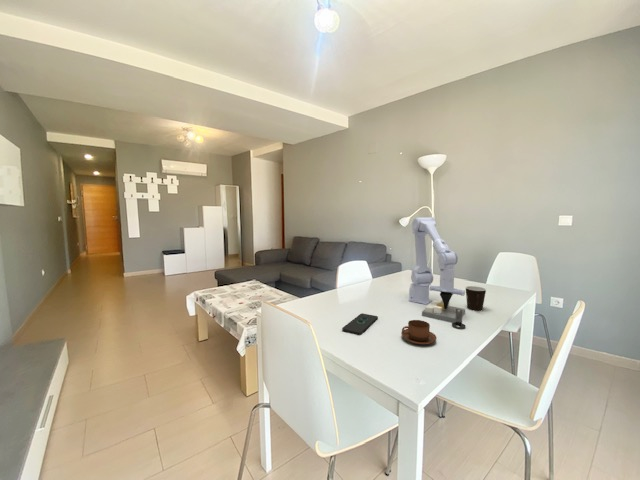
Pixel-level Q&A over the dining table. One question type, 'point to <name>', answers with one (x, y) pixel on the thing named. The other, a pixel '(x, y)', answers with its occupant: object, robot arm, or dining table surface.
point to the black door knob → (458, 320)
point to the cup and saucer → (418, 332)
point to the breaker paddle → (441, 305)
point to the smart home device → (360, 324)
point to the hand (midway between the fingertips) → (446, 308)
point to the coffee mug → (475, 297)
